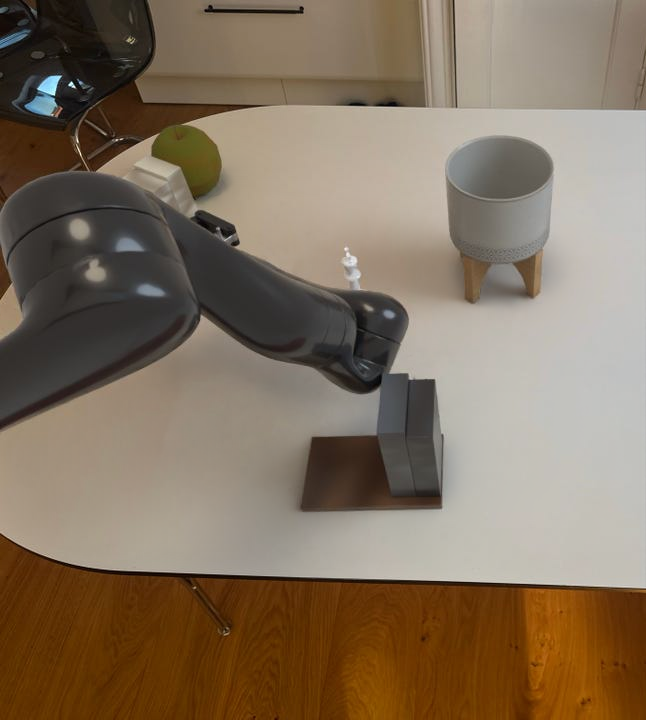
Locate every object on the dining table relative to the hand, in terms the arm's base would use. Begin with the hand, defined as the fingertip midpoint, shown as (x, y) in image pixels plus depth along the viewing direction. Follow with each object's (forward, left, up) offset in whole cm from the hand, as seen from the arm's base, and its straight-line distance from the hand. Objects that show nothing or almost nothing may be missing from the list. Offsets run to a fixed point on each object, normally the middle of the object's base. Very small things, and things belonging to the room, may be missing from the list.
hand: (129, 239), depth 81 cm
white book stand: (+1, +12, -15) cm, 19 cm away
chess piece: (+22, -10, -15) cm, 28 cm away
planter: (+41, -15, -15) cm, 46 cm away
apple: (+11, +27, -15) cm, 33 cm away
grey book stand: (+13, -34, -15) cm, 39 cm away
